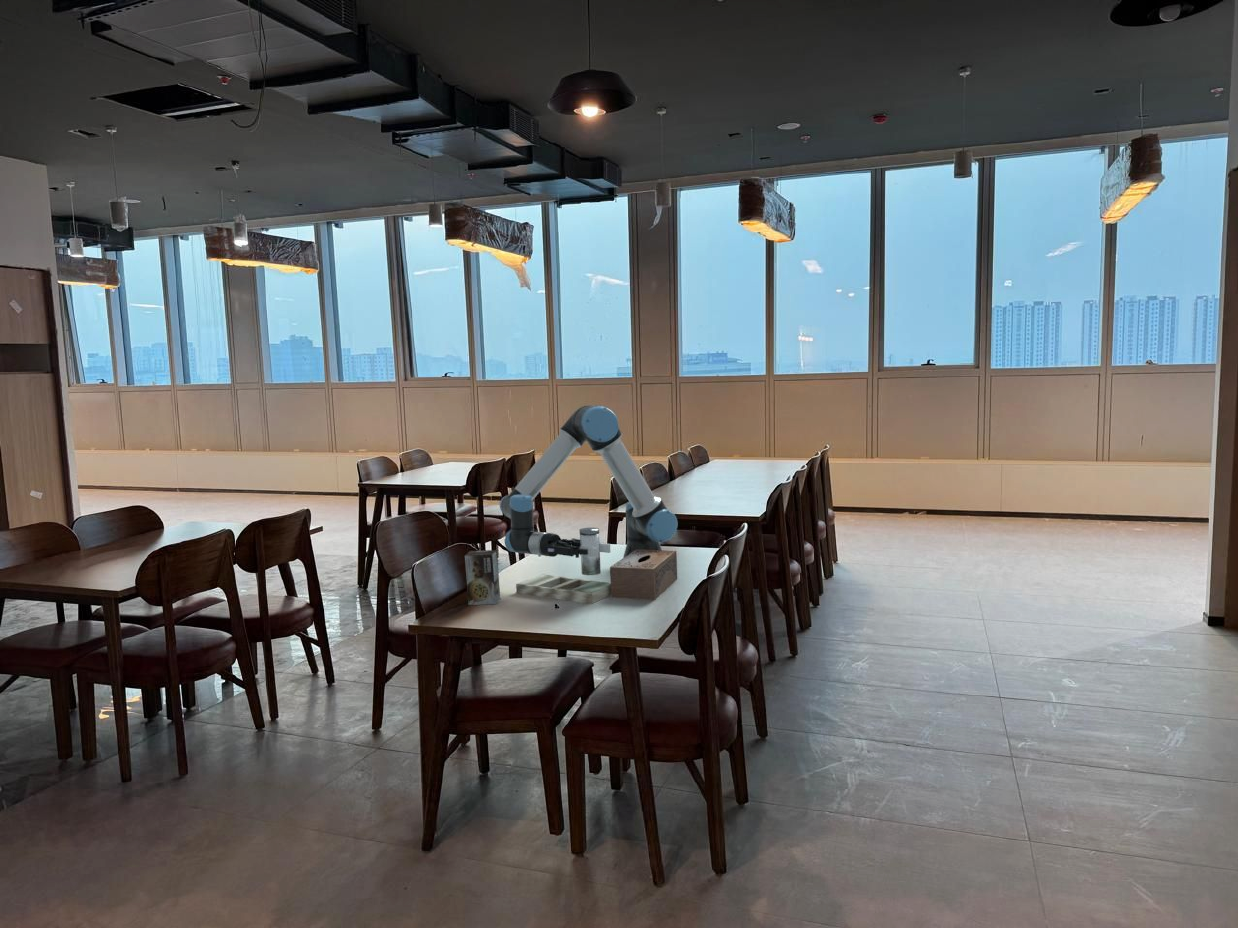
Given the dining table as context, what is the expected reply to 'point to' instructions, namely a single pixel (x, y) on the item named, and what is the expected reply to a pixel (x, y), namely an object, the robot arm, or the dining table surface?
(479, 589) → the coffee box
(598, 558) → the canister
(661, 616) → the dining table surface
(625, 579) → the tissue box cover
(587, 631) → the dining table surface
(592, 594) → the board
